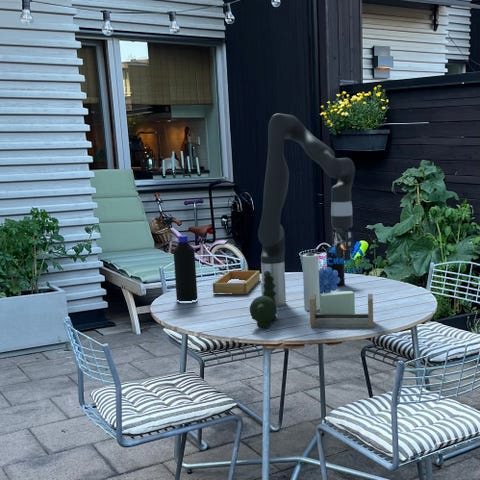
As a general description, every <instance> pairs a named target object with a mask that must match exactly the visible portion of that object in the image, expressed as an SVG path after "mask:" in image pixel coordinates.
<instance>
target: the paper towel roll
mask: <svg viewBox="0 0 480 480" xmlns="http://www.w3.org/2000/svg"><path fill="white" fill-rule="evenodd" d="M319 270H320V265H319V254H318V253H307V252H306V253H304V254H302V280H303V282H302V283H303V304H304V305H303V306H304V307H303V309H304V310H305V311H307V312H310V297H311V294H316V308H317V311H318V310H319V311H320V296H319V294H320V291H319Z"/></svg>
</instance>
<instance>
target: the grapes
mask: <svg viewBox="0 0 480 480" xmlns="http://www.w3.org/2000/svg"><path fill="white" fill-rule="evenodd" d="M337 275H338V271H337V270H333V271H332V268H331V267H327V266H326V268H325V270H324V268H319V291H320V294H321V293H332V292H335V291H336V290H337V289H338V287H337V285H336V284H338V283H339V282H340V278H339V277H336V276H337Z"/></svg>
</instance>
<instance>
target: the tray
mask: <svg viewBox="0 0 480 480" xmlns="http://www.w3.org/2000/svg"><path fill="white" fill-rule="evenodd" d="M231 279H239V280H245V281H246V282H245V281H244V282H242V283H227V282H228V281H229V280H231ZM259 280H261V274H260V270H229V271H227V272H226V273H225V274H223V275H222V276H220V277H219V278H218V279H217V280H215V281H214V282H213V283H212V294H213V293H232V294H231V295H247V294H248V293H249V292H250V291H251V290H252V289H253V288H254V287H255V286H256V285H257V284H258V283H259V282H260V281H259ZM258 281H259V282H258ZM257 282H258V283H257ZM256 283H257V284H256ZM255 284H256V285H255ZM254 285H255V286H254ZM253 286H254V287H253ZM252 287H253V288H252ZM251 288H252V289H251ZM250 289H251V290H250Z"/></svg>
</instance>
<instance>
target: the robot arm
mask: <svg viewBox="0 0 480 480" xmlns="http://www.w3.org/2000/svg"><path fill="white" fill-rule="evenodd" d="M267 137H268V138H267V156H266V157H267V160H266V167H265V168H266V169H265V175H264V176H265V178H264V185H263V186H264V187H263V198H262V199H263V200H262V201H263V202H262V213H261V219H260V223H259V227H258V232H257V237H258V240H259V242H260V243H261V244H262V246H261V247H262V249H261V254H260V264H261V265H260V267H261V282H260V287H261V289H260V290H261V291H260V293H261V296H263V292H264V290H265V289H264V287H263V285H264V283H265V282H264V278H265V276H264V272H265V271H269V272H270V273H271V276H272V277H273V278H274V280H273V284H275V287H274V289H273V290H274V292H276V295H274V298H275V302H276V303H275V304H276V306H277V307H280V306H281V307H282V306H284V305H286V304H287V301H286V299H287V298H286V293H287V292H286V276H285V253H286V247H285V246H286V245H285V241H286V238H285V229H284V227H283V226H282V224H281V215H282V209H283V207H284V203H285V200H286V197H287V194H288V189H289V181H290V171H289V166H288V164H287V161H286V157H285V154H284V144H285V140H291V141H294V142H296V143H298V144H299V145H300V146H301V147H302V148H303V151H304V152H305V154H307V156H308V157H309V158H310V159H311V160H313V161H314V162H315V163H316V164H318V165H319V166H320V168H321V169H322V170H323V172H324V173H325V175H327V176H328V177H330V178H332V179H337V183H336V184H334V185H333V186H331V191H330V193H331V196H330V197H331V206H330V219H331V227H332V230H331V235H332V236H331V243H332V245H333V244H334V247H335V256H336V257H341V256H342V250H341V248H343V250H344V261H347V262H348V261H351V259H352V256H351V255H352V254H351V250H352V249H354V233H353V231H349V228H353V220H354V219H353V204H352V186H353V183H354V178H355V172H356V166H355V164H354V161H353V160H352V159H351V158H349V157H339V158H338V157H337V158H336V156H335V155H336V154H335V152H334V151H335V150H333V149H332V148H331V147H330V146H328V145H327V144H325V143H324V142H323V141H321V140H320V139H318V138H317V137H316V136H314V134H313V133H311V131H309V130H308V129H307V128H306V127H305V125H304V124H303V123H302V122H301V121H300V120H299V118H297V117H296V116H295V115H292V114H285V113H275V114H273V115H272V116H271V118H270V120H269V122H268V131H267Z"/></svg>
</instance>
